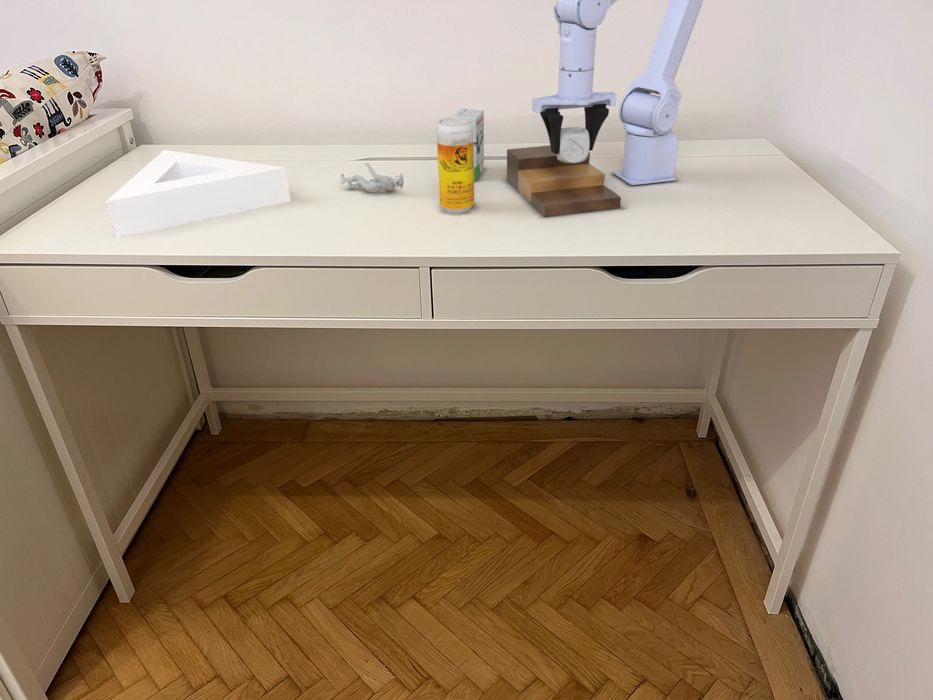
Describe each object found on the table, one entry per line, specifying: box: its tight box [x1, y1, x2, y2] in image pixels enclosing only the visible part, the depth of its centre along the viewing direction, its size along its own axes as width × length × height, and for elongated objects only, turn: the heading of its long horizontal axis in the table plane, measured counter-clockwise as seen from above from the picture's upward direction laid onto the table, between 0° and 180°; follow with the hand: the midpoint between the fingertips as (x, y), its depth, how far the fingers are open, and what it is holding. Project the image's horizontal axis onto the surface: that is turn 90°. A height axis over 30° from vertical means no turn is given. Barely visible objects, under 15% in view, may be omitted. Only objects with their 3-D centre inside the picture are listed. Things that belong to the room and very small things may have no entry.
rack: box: [506, 144, 622, 218], centre depth 126 cm, size 14×21×6 cm, turn 15°
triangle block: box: [104, 149, 292, 239], centre depth 128 cm, size 30×26×6 cm
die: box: [557, 126, 590, 163], centre depth 121 cm, size 5×5×5 cm
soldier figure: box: [340, 162, 405, 194], centre depth 129 cm, size 8×5×12 cm
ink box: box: [452, 108, 485, 181], centre depth 136 cm, size 9×5×12 cm, turn 168°
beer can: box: [436, 116, 475, 214], centre depth 118 cm, size 6×6×15 cm
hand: (571, 150), depth 122 cm, fingers closed on die, 6 cm apart
